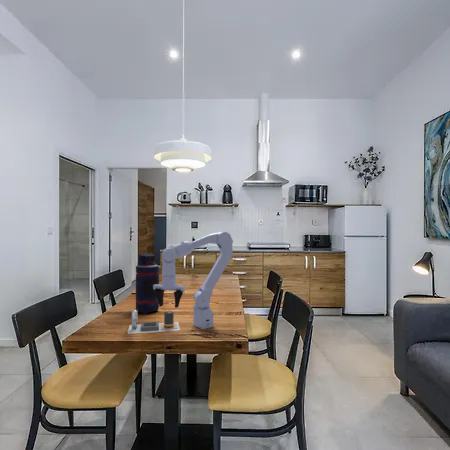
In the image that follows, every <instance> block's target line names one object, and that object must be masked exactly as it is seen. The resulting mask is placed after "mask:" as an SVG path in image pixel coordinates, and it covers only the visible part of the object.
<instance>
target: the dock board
mask: <svg viewBox="0 0 450 450" xmlns="http://www.w3.org/2000/svg"><path fill="white" fill-rule="evenodd" d="M174 323H176V324H177V329H164V330H161V324H164V322H159V321H158V320H157V321H143V322H141V323H140V324H139V323H138V324H137V329H132V324H129V327H128V329H127V335H130V334H131V335H132V334H147V333H161V332H163V333H164V332H176V331H177V332H178V331H181V329H180V324H179V322H178V321H174Z"/></svg>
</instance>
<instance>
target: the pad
mask: <svg viewBox="0 0 450 450" xmlns="http://www.w3.org/2000/svg"><path fill="white" fill-rule="evenodd" d="M164 329H177V324H176V323H174V326H173V327H170V328H166V327H164V324H161V330H164Z"/></svg>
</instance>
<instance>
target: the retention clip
mask: <svg viewBox="0 0 450 450" xmlns="http://www.w3.org/2000/svg"><path fill="white" fill-rule="evenodd" d="M138 313H139V312H138V310H136V309H133V310H131V325H132V329H137V324H139V322H138V319H139V317H138Z"/></svg>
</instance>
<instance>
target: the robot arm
mask: <svg viewBox="0 0 450 450" xmlns="http://www.w3.org/2000/svg"><path fill="white" fill-rule="evenodd" d="M233 243H234V241H233V238H232V236H231V234H230V233H229V232H227V231H217V232H213V233H211V234H206V235H205V236H203V237H200V238H198V239H195V240H194V241H191V242H190V241H187V240H186V241H184V240H182V241H180V243H178V244H175V245H171V246H170V248H169V247H167V248H165V249H164V250H163V251H162V254H161V257H162V265H161V266H162V267H161V268H162V269H161V270H162V271H161V272H162V273H161V275H162V277H161V279H162V280H161V281H162V283H161V284H160V283H159V284H155V285H153V289H154V290H155V289H156V290H155V291H154V293H155V295H156V297H157V299H158V302H159V307H162V306H164V294H165V291H173V296H174V308H176V309H177V308H179V305H180V302H181V299H182V296H183V295H184V292H185V291H186V286H185V285H179V284H177V283H176V259H180V258H182V257H185V256H187V255H190V254H192V252H193V250H194V249H198V248H199V247H200V248H201V247H202V246H203V247H204V246H206V245H208V244H213V245H217V247H218V249H219V250H218V251H219V252H220V255H219V256H218V258H217V260H215V263H214V265H213V266H212V268H211V270H210V272H209V273H208V275H207V277H206V279H205V280H204V282H203V283H202V284H201V285H200V287H199V289H197V290H196V291H195V292H194V293H193V300H194V301H195V302H194V304H193V321H192V322H193V324H192V325H193V327H196V328H199V329H201V330H204V329H210V328H213V327H214V311H212V309H211V307H210V302H211V297H212V295H213V292H214V289H215V287H216V285H217V283H218V281H219V280H220V279H221V276H222V274H223V273H224V271H225V269H226V267H227V265H228V264H229V262H230V261H231V258H232V257H233Z"/></svg>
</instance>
